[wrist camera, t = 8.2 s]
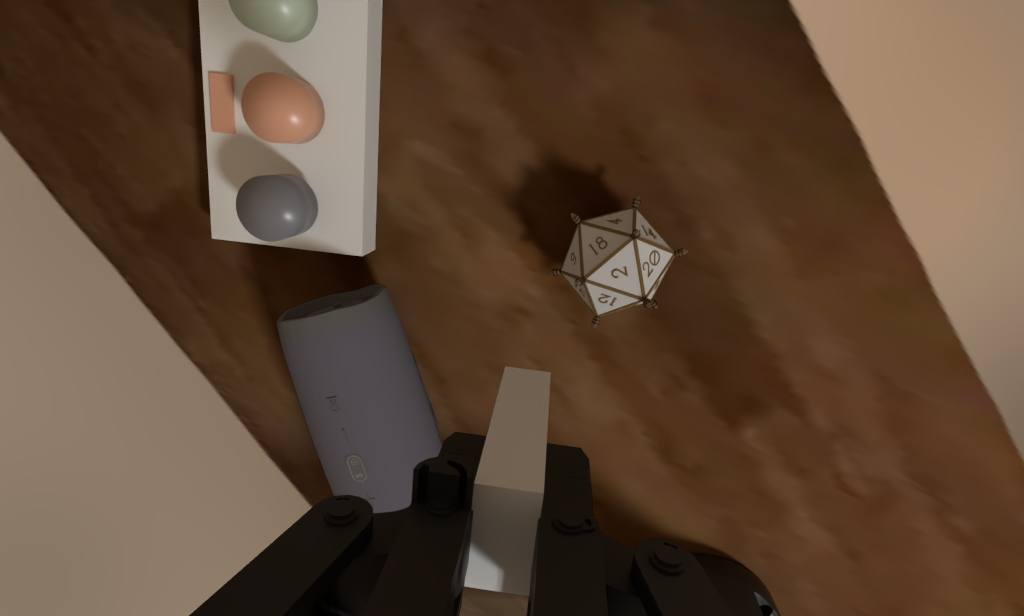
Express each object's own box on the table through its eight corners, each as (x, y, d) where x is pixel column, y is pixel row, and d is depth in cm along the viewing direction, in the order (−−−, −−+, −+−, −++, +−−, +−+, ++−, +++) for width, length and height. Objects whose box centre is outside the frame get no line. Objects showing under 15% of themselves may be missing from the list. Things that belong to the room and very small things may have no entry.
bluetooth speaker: (306, 296, 46) (239, 334, 37) (409, 272, 45) (367, 305, 35) (386, 521, 52) (346, 604, 42) (479, 506, 50) (459, 589, 41)
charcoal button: (318, 238, 40) (299, 245, 37) (260, 231, 40) (237, 237, 37) (318, 177, 39) (298, 179, 36) (258, 170, 39) (234, 172, 36)
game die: (605, 221, 46) (645, 149, 36) (672, 299, 44) (732, 244, 35) (522, 276, 43) (542, 215, 34) (589, 361, 41) (630, 321, 32)
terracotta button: (324, 146, 39) (305, 146, 36) (266, 140, 39) (242, 139, 36) (324, 81, 38) (305, 75, 35) (264, 75, 38) (239, 69, 35)
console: (375, 249, 44) (360, 257, 41) (234, 232, 45) (209, 238, 42) (383, -27, 39) (367, -42, 35) (222, -41, 39) (192, -58, 36)
